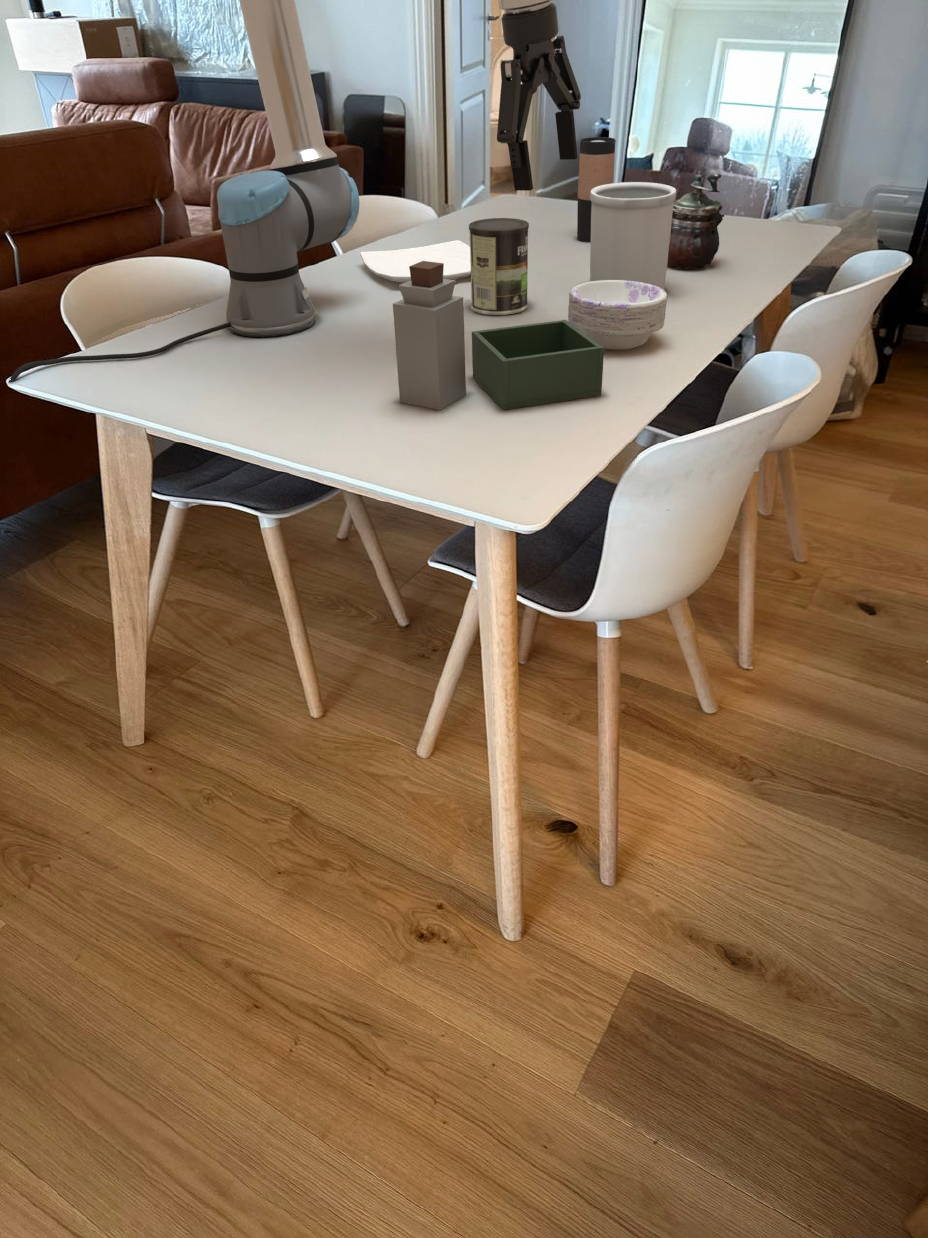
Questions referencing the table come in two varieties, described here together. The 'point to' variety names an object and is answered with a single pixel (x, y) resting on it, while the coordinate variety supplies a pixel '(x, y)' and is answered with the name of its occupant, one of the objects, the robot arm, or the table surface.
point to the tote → (537, 364)
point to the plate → (398, 261)
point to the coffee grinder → (695, 227)
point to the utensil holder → (631, 232)
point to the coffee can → (499, 265)
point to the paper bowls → (617, 311)
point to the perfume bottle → (430, 339)
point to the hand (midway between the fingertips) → (547, 173)
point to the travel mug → (592, 177)
